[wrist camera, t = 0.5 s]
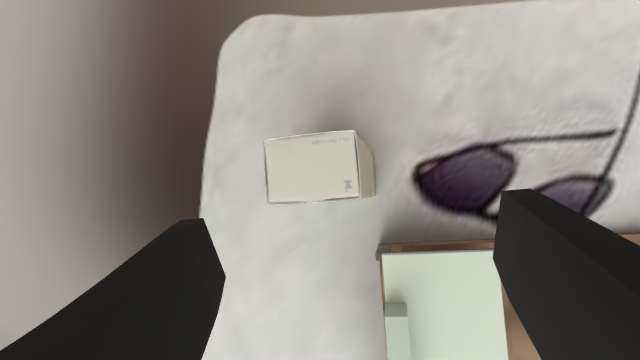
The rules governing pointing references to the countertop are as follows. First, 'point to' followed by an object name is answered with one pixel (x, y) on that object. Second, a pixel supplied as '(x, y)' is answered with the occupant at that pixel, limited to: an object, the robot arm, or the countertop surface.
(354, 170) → the skincare box
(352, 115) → the countertop surface
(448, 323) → the lid
